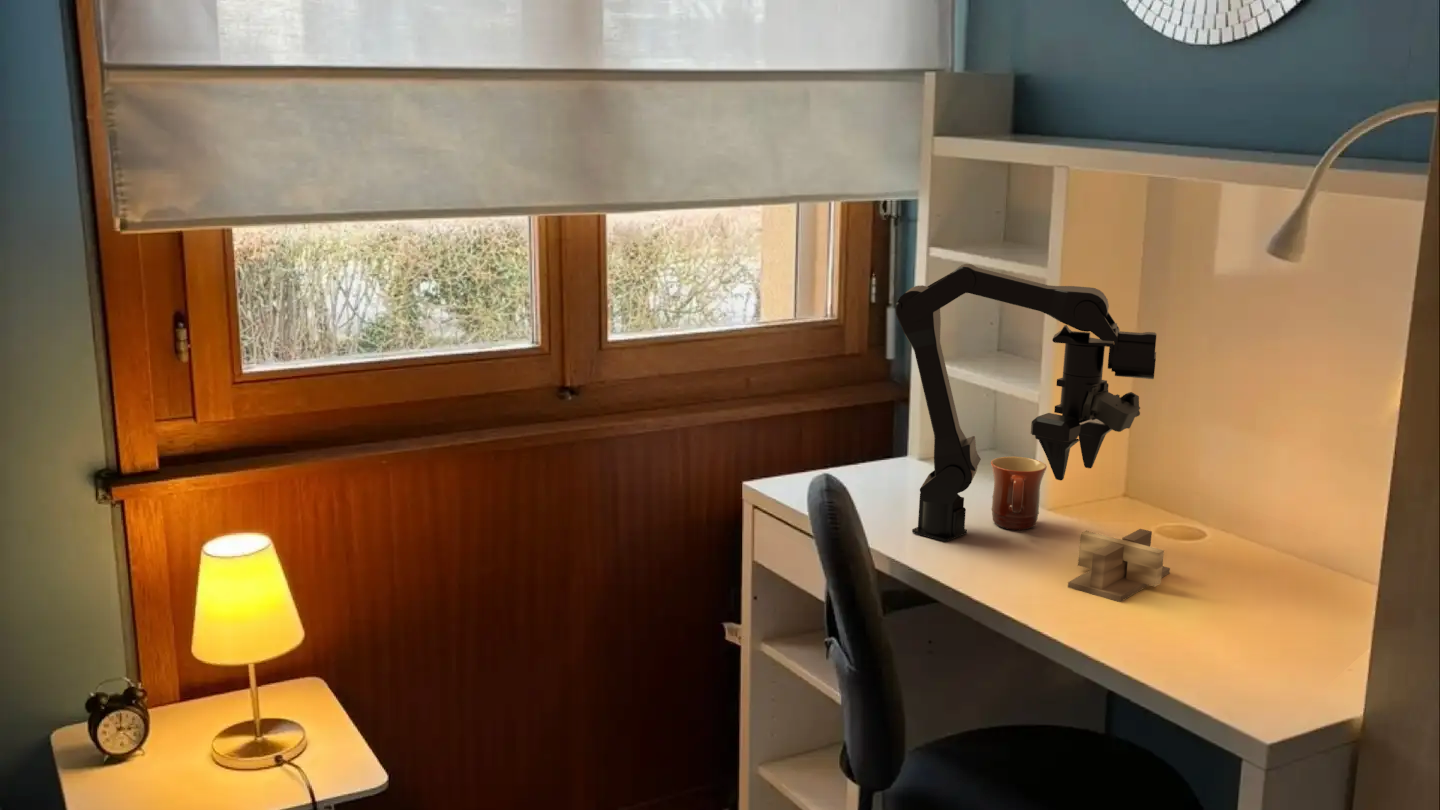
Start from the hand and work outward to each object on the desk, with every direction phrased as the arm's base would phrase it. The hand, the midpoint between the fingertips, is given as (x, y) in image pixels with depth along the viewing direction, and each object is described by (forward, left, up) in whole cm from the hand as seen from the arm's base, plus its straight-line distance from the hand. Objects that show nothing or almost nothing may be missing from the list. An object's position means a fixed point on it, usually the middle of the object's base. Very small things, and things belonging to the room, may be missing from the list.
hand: (1074, 473), depth 210 cm
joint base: (+12, -7, -12) cm, 18 cm away
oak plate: (+12, -7, -11) cm, 18 cm away
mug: (-11, +3, -12) cm, 17 cm away
